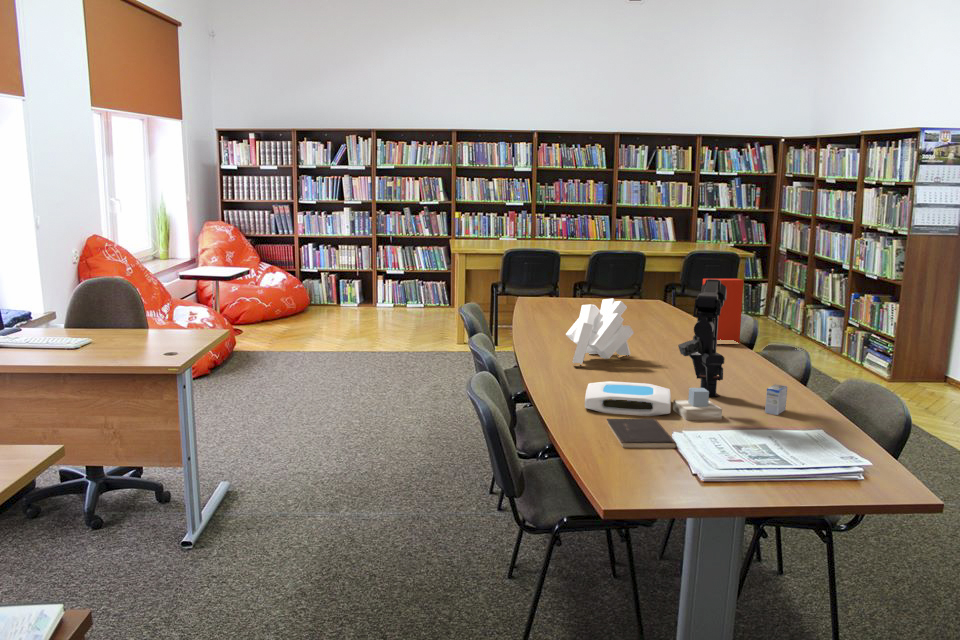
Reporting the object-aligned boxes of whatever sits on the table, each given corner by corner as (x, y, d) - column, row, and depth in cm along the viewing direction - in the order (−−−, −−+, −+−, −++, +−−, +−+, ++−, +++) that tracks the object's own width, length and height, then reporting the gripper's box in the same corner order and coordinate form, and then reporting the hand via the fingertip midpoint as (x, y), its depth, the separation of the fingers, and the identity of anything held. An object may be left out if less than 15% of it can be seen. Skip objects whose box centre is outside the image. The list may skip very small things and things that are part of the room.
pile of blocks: (620, 385, 313) (656, 308, 315) (554, 353, 317) (590, 278, 319) (614, 387, 347) (646, 319, 349) (555, 359, 352) (587, 291, 354)
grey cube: (688, 402, 254) (689, 387, 253) (702, 402, 255) (703, 387, 254) (693, 406, 249) (694, 391, 249) (708, 406, 250) (709, 391, 249)
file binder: (699, 342, 379) (702, 278, 374) (732, 341, 380) (736, 278, 375) (705, 345, 371) (709, 280, 366) (739, 345, 372) (743, 280, 367)
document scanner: (670, 418, 249) (671, 399, 248) (584, 412, 255) (584, 394, 254) (668, 401, 269) (669, 384, 268) (589, 396, 275) (589, 379, 274)
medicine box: (772, 408, 261) (774, 383, 260) (785, 410, 258) (787, 386, 257) (764, 413, 255) (766, 388, 254) (778, 415, 252) (780, 390, 251)
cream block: (672, 411, 258) (673, 400, 257) (706, 410, 259) (707, 399, 259) (686, 421, 246) (686, 409, 246) (721, 420, 247) (722, 409, 247)
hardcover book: (621, 449, 219) (621, 441, 218) (606, 425, 241) (606, 418, 241) (676, 449, 219) (676, 441, 219) (656, 425, 242) (656, 418, 241)
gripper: (671, 328, 258) (669, 372, 261) (692, 339, 240) (690, 386, 243) (703, 327, 259) (700, 372, 262) (726, 338, 241) (723, 386, 244)
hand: (702, 379), depth 253 cm, fingers open, 9 cm apart
